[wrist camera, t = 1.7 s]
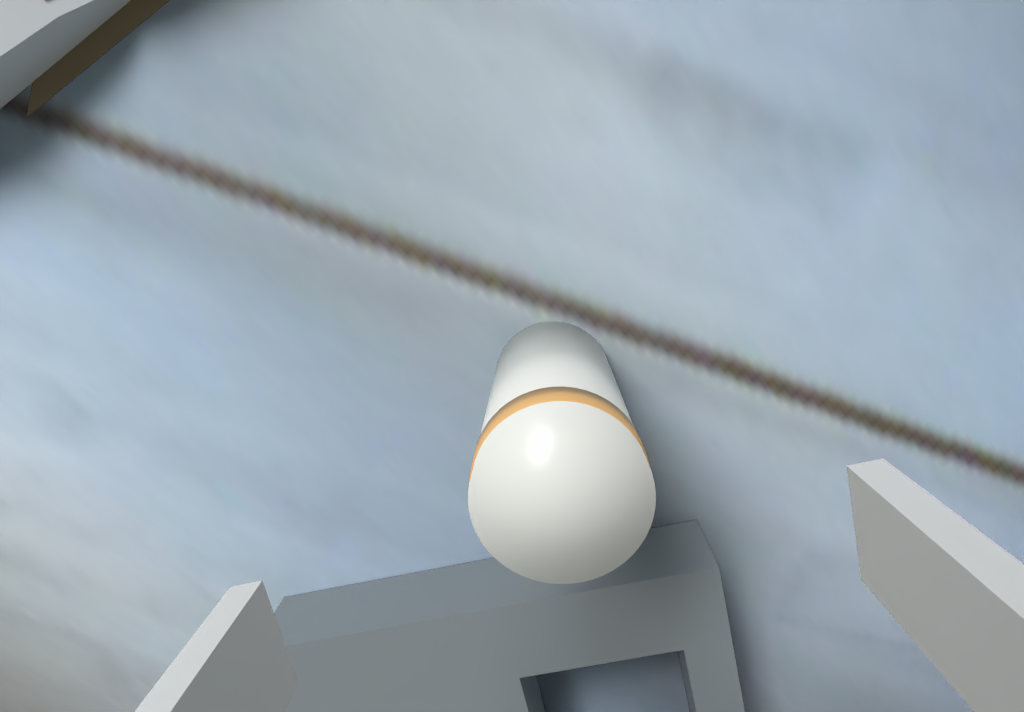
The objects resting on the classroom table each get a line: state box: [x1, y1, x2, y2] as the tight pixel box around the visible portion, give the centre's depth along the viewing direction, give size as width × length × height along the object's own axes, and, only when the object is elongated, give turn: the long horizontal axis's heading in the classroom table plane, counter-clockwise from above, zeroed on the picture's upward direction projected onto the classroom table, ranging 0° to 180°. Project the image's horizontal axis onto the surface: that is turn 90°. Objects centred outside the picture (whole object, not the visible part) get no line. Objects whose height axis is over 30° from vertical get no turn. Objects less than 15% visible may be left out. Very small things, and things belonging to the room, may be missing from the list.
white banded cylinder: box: [468, 322, 656, 584], centre depth 24 cm, size 5×5×12 cm
